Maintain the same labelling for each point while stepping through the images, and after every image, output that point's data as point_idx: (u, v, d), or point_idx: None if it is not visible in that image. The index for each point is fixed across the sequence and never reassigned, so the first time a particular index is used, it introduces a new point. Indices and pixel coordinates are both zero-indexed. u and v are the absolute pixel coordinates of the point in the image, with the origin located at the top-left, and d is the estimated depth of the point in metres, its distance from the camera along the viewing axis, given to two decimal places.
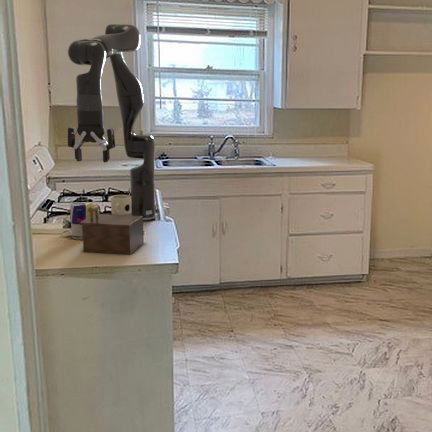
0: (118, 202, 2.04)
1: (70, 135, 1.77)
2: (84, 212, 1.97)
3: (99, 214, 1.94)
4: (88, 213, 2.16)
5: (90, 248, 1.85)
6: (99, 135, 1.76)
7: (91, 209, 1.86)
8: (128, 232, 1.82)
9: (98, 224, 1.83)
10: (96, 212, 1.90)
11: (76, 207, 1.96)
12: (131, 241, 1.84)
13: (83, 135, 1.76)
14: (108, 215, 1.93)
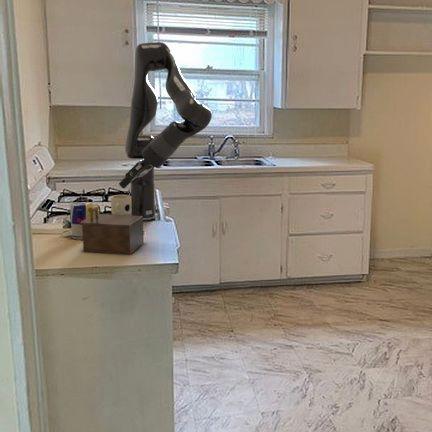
0: (118, 202, 2.04)
1: (138, 173, 1.77)
2: (84, 212, 1.97)
3: (99, 214, 1.94)
4: (88, 213, 2.16)
5: (90, 248, 1.85)
6: None
7: (91, 209, 1.86)
8: (128, 232, 1.82)
9: (98, 224, 1.83)
10: (96, 212, 1.90)
11: (76, 207, 1.96)
12: (131, 241, 1.84)
13: (145, 171, 1.82)
14: (108, 215, 1.93)
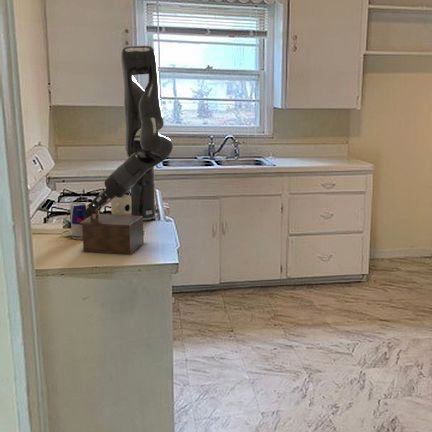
0: (118, 202, 2.04)
1: (100, 204, 1.82)
2: None
3: (99, 214, 1.94)
4: None
5: (90, 248, 1.85)
6: None
7: None
8: (128, 232, 1.82)
9: (98, 224, 1.83)
10: (96, 212, 1.90)
11: (76, 207, 1.96)
12: (131, 241, 1.84)
13: (108, 201, 1.86)
14: (108, 215, 1.93)
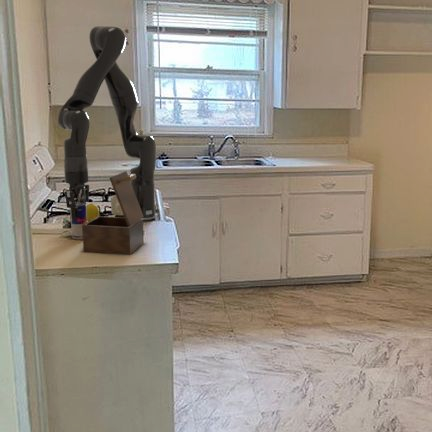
0: (118, 202, 2.04)
1: (73, 197, 1.92)
2: (84, 212, 1.97)
3: (127, 176, 1.90)
4: (88, 213, 2.16)
5: (90, 248, 1.85)
6: None
7: (129, 179, 1.82)
8: (128, 232, 1.82)
9: (118, 196, 1.80)
10: None
11: None
12: (131, 241, 1.84)
13: (81, 192, 1.95)
14: (130, 186, 1.90)
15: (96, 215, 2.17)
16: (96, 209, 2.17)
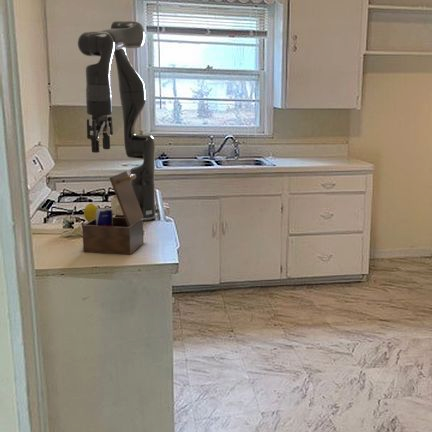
0: (118, 202, 2.04)
1: (95, 127, 1.76)
2: (110, 218, 1.88)
3: (127, 176, 1.90)
4: (88, 213, 2.16)
5: (90, 248, 1.85)
6: None
7: (129, 179, 1.82)
8: (128, 232, 1.82)
9: (118, 196, 1.80)
10: None
11: (102, 213, 1.86)
12: (131, 241, 1.84)
13: (103, 125, 1.80)
14: (130, 186, 1.90)
15: None
16: None
